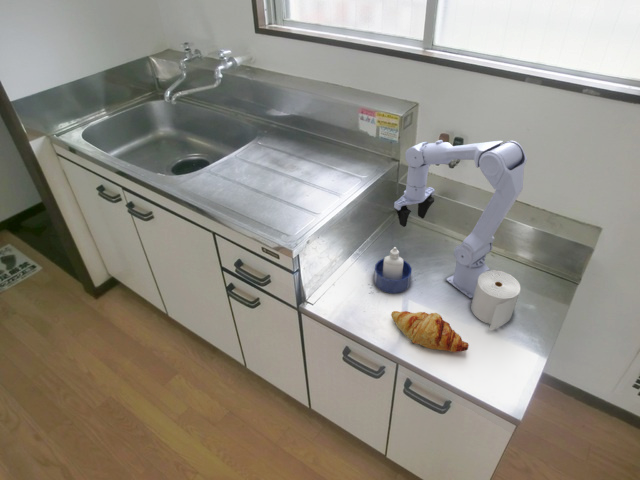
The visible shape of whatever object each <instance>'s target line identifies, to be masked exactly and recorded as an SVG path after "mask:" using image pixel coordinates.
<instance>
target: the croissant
mask: <svg viewBox="0 0 640 480" xmlns="http://www.w3.org/2000/svg"><path fill="white" fill-rule="evenodd" d="M390 317H391V319H392V321H393V322H394V323H395V325H396V327H397V328H398V330H400V332H401V333H402V334H404V336H405V337H407V338H408V339H409V340H410V341H411V342H412V343H413V344H417V345H420V346H422V347H424V348H427V349H430V350H439V351H446V352H451V353H460V352H465V351H467V350H469V346H470V345H469V343H468V342H466V341H464V340H463V339H462V336H461V335H460V334H459V333H457V332H456V331H455V330H454V329H453V328H452V327H451V325H450V323H449V322H448V321H445V320H444V319H443V317H442V316H441V314H439V313H438V312H430V313H428V312H426V311H418V312H411V311H409V310H403V311H399V310H393V311H391V314H390Z"/></svg>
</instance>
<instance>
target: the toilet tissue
mask: <svg viewBox="0 0 640 480" xmlns="http://www.w3.org/2000/svg"><path fill="white" fill-rule="evenodd" d="M520 293H521V284H520V282H519V281H518V279H516V278H515V277H514V276H513V275H511V274H510V273H507V272H506V271H505V272H504V271H501V270H495V269H493V270H492V269H491V271H486V272H484V273H482V274H481V275H480V276H479V278H478V280H477V284H476V289H475V292H474V296H473V298H472V299H471V304H470V308H471V312H472V314H473V315H474V316H475V317H476V319H478V320H480V321H481V322H483V323H485V324H489V329H488V332H489V331H494V330H496V329H498V328H501V327H502V326H503V325H506V324H507V323H508V322H509V321H510V320H511V319H512V316H513V313H514V310H515V307H516V305H517V301H518V299H519V296H520Z"/></svg>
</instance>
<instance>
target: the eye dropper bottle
mask: <svg viewBox="0 0 640 480" xmlns="http://www.w3.org/2000/svg"><path fill="white" fill-rule="evenodd" d="M383 258H384V264H383V276H382V277H383V278H386V279H388V280H401V279H402V272H403V263H404V260H405V259H404V258H402V257H401V256H400V251H399V250H398V248H397V247H396V246H394V247H393V248H392V249H391V250H390V251H389V255H386V256H385V257H383Z"/></svg>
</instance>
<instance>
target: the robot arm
mask: <svg viewBox="0 0 640 480" xmlns="http://www.w3.org/2000/svg"><path fill="white" fill-rule="evenodd" d="M404 157H405V161H406V163H407V164H408V168H407V176H406V183H405V185H406V186H405V190H404V191H403V194H402V195H401V196H400V198H398V199H397V200H395V201H394V202H393V208H394V210H395V212H396V214H397V216H398V223H399V225H400V226H401V227H402V228H405V227H407V225H408V219H409V217H410V214H411V212H412V210H410V209H409V207H408V206H409V205H416V204H417V216H418V217H419V218H421V219H425V217H426V215H427V213H428V210H429V209H430V207H431V206H432V205H433V204H434V202H435V197H433V196H435V191H436V190H435V188H433V187H432V186H429V187H427V185H428V184H427V183H428V176H429V170H430V169H429V168H430V166H431V165H448V164H451V162H452V161H453V160H462V161H463V160H467V161H468V160H469V161H474V165H475V168H479V169H480V171H481V173H482V174H483V176H484V177H485V178H486V180H487V182H488V183H489V184H490V186H491V187H492V188H493V189H494V190H495V191H494V193H493V194H492V196H491V198H490V200H489V202H488V203H487V205H486V206H485V208H484V210H483V211H482V214H481V215H480V217H479V218H478V220H477V222H476V224H475V226H474V227H473V228H472V231H471V232H470V233H469V235H468V236H466V237H465V238H464V240H463V241H462V242H461V243H460V244H458V245H457V246H455V248H454V249H453V256H454V258H455V260H456V264H455V268H454V272H453V274H452V275H451V276H449V277H447V278H446V282H448V283H449V284H450V285H452V286H453V287H454V288H455V289H457V290H458V291H459V292H461V293H462V294H463V295H465V296H466V297H468V298H469V299H473V296H474V292H475V289H476V284H477V280H478V278H479V276H480V275H481V274H482V273H484V272H486V271H492V269H490V267H488V265H487V264H486V262H485V260H486V258H487V254H489V253H491V252H492V251H493V243H494V241H495V239H496V238H495V237H494V236H495V234H496V232H497V230H498V229H499V227H500V226H501V224H502V223H503V221H504V219H505V218H506V217H507V214H508V213H509V211H510V210H511V209H512V207H513V206H514V203H516V200H517V199H518V197H519V196H520V195H521V193H522V191H523V187H524V171H525V165H526V163H527V161H528V157H527V155H526V152H525V150H524V148H523V146H522V145H521V144H520V143H519V142H518V141H515V140H508V141H505V142H504V140H493V141H486V142H485V141H484V142H475V143H468V144H460V145H452V144H451V143H450V142H449V141H444V140H443V139H439V140H436V141H435V142H430V143H429V142H428V141H423V142H420V143H417V144H415V145H413V146H410V147H409V148H407V149H406V151H405V154H404Z"/></svg>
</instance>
